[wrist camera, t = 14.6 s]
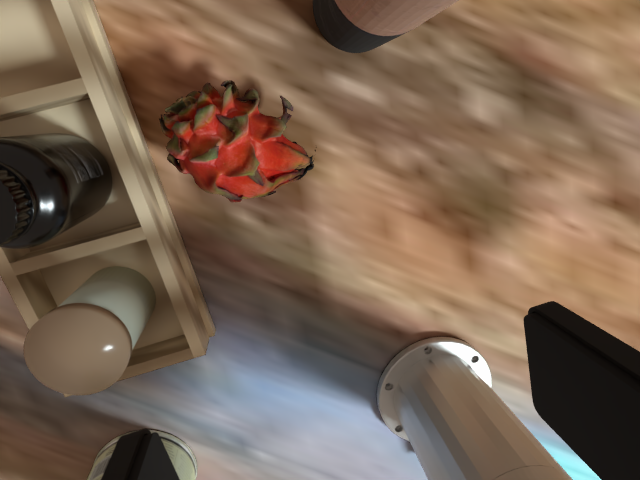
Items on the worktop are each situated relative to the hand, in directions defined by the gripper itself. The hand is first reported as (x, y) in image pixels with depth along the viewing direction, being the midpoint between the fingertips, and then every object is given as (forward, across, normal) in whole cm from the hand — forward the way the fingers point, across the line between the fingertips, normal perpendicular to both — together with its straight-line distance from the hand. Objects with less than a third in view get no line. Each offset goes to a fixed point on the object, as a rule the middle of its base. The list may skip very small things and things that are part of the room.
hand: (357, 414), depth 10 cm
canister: (+27, +16, +4) cm, 32 cm away
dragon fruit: (+29, +2, -6) cm, 29 cm away
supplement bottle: (+27, +16, -7) cm, 32 cm away
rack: (+28, +16, -7) cm, 33 cm away
